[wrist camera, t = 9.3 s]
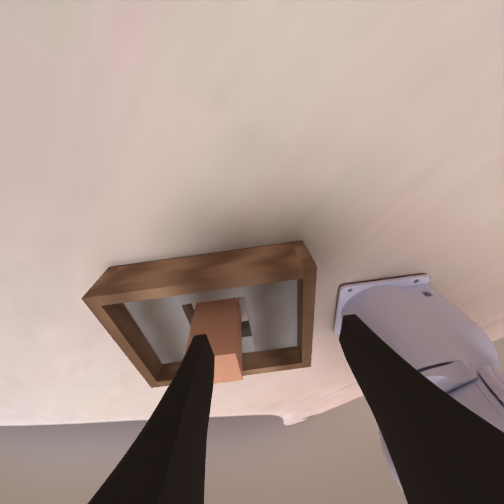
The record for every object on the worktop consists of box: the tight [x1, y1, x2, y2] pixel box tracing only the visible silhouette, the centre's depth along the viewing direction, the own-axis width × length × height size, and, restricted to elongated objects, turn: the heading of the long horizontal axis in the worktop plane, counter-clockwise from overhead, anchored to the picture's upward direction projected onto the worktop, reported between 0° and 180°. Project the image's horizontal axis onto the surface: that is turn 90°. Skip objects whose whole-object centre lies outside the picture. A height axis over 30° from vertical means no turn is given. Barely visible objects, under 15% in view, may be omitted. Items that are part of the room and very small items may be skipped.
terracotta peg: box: [185, 298, 243, 384], centre depth 20 cm, size 4×4×7 cm
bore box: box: [82, 241, 317, 388], centre depth 21 cm, size 18×14×4 cm
